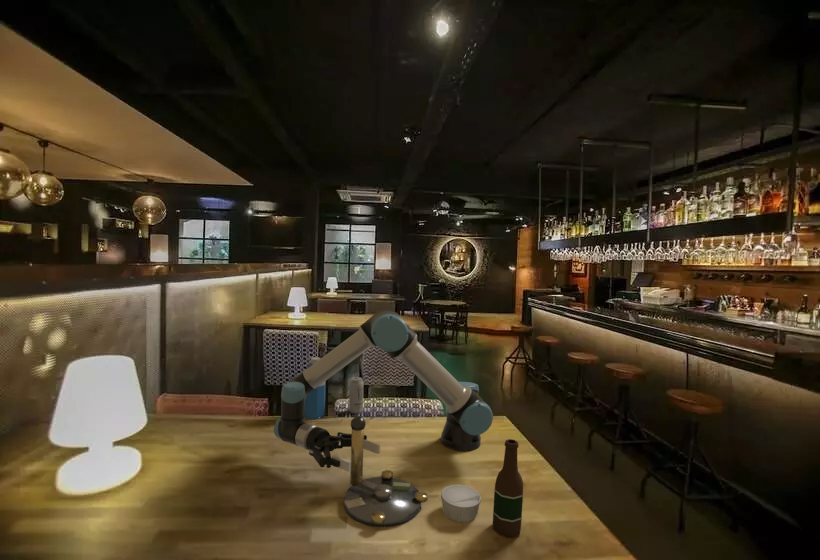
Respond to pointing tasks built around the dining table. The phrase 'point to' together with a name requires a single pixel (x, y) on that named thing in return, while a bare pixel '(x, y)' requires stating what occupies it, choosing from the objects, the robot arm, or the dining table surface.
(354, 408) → the energy drink can
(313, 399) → the water bottle
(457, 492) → the ramekin
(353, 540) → the dining table surface
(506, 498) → the beer bottle
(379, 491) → the ball topped crank handle
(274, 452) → the dining table surface
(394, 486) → the plate
